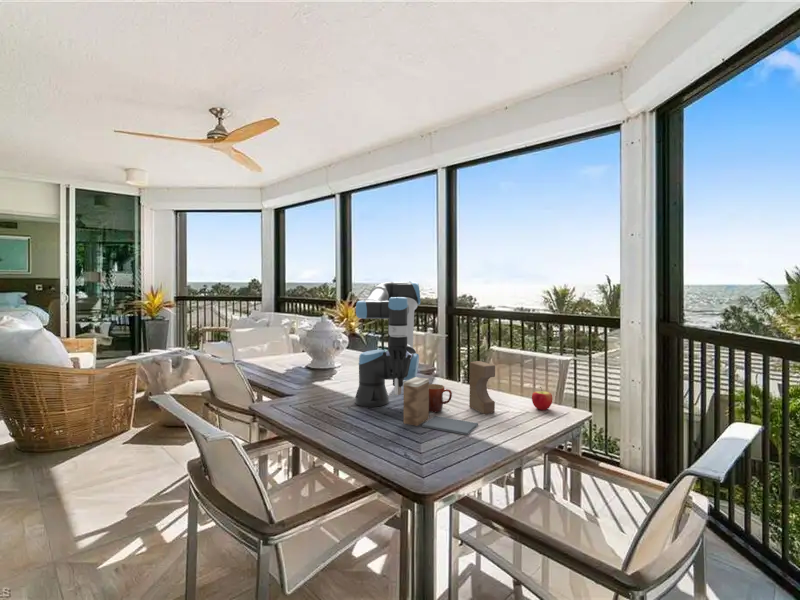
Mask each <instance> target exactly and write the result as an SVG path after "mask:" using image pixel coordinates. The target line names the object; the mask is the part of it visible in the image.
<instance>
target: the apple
mask: <svg viewBox="0 0 800 600" xmlns="http://www.w3.org/2000/svg"><path fill="white" fill-rule="evenodd" d="M540 390H541V391H537V390H536V391H533V393H532V395H531V402H532V404H533V406H534V407H535V408H536V409H537V410H540V411H546V410H549V408H550V407H551V406H552V403H553V395H552V393H551V392H549V391H543V389H542V387H541V386H540Z"/></svg>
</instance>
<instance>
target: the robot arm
mask: <svg viewBox="0 0 800 600" xmlns="http://www.w3.org/2000/svg"><path fill="white" fill-rule="evenodd" d="M420 290H421V289H420V286H419V283H418V282H417V281H385V282H382V283H379V284H376V285H375V286H374V287H372V288H371V290H370V291H369V295H368V297H367V298H366V300H365V299H362V300H358V301H356V304H355V315H356V318H358V319H365V320H366V319H388V348H387V351H385V350H384V349H372V350H367V351H364V352H362V353H360V354H359V357H358V388H357V391H356V394H355V398H354V403H355V404H356V405H358V406H359V407H360V406H361V407H366V408H367V407H370V408H372V407H373V408H374V407H381V406H385V405H387V404H389V401H390V397H389V393H388V390H387V386H386V380H388V381H390V380H392V386H393V387H394V396H399V395H401V394H402V387H404V385H403V382H404V381H407V380H410V379H412V378H414V377H418V371H419V363H420V355H419V353H417V350H416V349H415V348H414V331H415V330H414V327H415V324H414V323H415V310H417V308H418V306H419V305H421V304H422V303H421V291H420Z"/></svg>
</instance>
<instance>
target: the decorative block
mask: <svg viewBox="0 0 800 600" xmlns="http://www.w3.org/2000/svg"><path fill="white" fill-rule="evenodd" d="M494 377H496V365H495V364H492V363H489V362H488V363H487V362H485V361H481V360H476V361H470V362H469V399H468V400H469V408H470V409H472V410H474V411H476V412H479V413H481V414H483V415H488V414H495V412H496V411H495V407H496V405H495V403H496V402H495V400H493V399H492V398H491V397H490V394H489V392H488V387H487V386H488V385H487V384H488V381H489V379H491V378H494Z"/></svg>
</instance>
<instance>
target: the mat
mask: <svg viewBox="0 0 800 600" xmlns="http://www.w3.org/2000/svg"><path fill="white" fill-rule="evenodd" d="M421 426H422V427H423V428H427V429H431V430H432V429H433V430H439V431H443V432H449V433H453V434H459V435H466V436H468V435H469V434H471V432H473V431H474V429H476V428H477V427H478V426H479V423H478V422H474V421H467V420H461V419H456V418H450V417H444V416H439V415H434V416H433V417H431V418H429V419H427V420H426V421H424V422H423V424H422V423H421Z"/></svg>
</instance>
